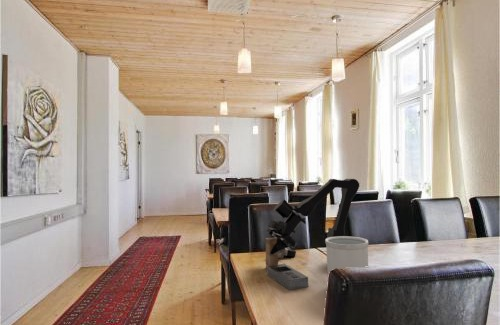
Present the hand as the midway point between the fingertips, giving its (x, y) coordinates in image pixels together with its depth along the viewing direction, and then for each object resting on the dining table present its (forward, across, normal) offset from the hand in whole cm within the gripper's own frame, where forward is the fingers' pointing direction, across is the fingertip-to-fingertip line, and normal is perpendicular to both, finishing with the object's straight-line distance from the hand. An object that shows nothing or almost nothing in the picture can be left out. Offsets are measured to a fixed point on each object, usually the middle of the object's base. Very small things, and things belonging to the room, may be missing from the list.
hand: (268, 252), depth 133 cm
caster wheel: (-6, -15, +16) cm, 23 cm away
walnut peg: (+4, 0, +6) cm, 7 cm away
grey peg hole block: (+5, +16, +5) cm, 17 cm away
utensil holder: (-6, +32, +16) cm, 37 cm away
